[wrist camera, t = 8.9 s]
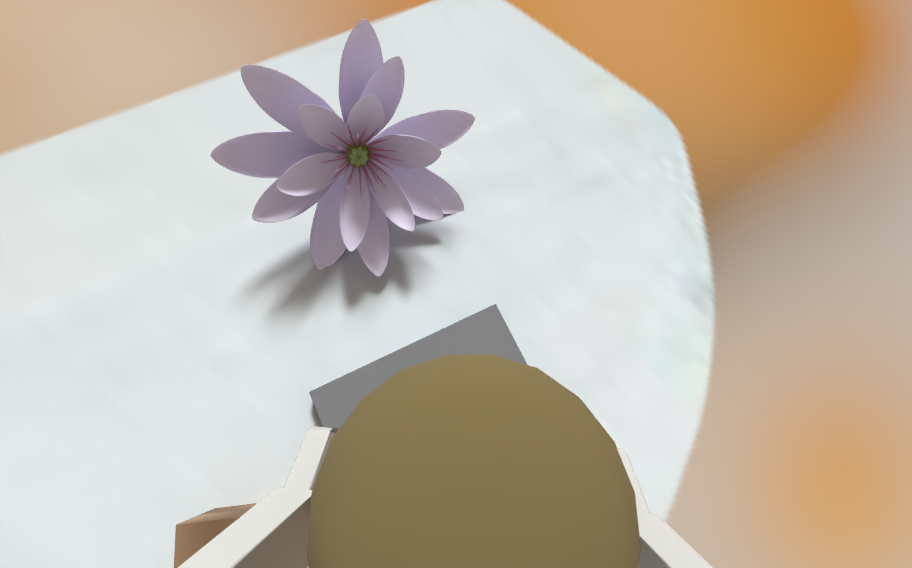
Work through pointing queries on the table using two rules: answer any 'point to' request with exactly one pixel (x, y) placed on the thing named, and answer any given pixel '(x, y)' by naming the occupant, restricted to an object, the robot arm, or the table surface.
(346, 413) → the coaster
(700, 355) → the table surface
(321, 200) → the water lily
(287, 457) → the table surface
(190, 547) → the walnut block
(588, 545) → the cork
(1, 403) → the table surface
